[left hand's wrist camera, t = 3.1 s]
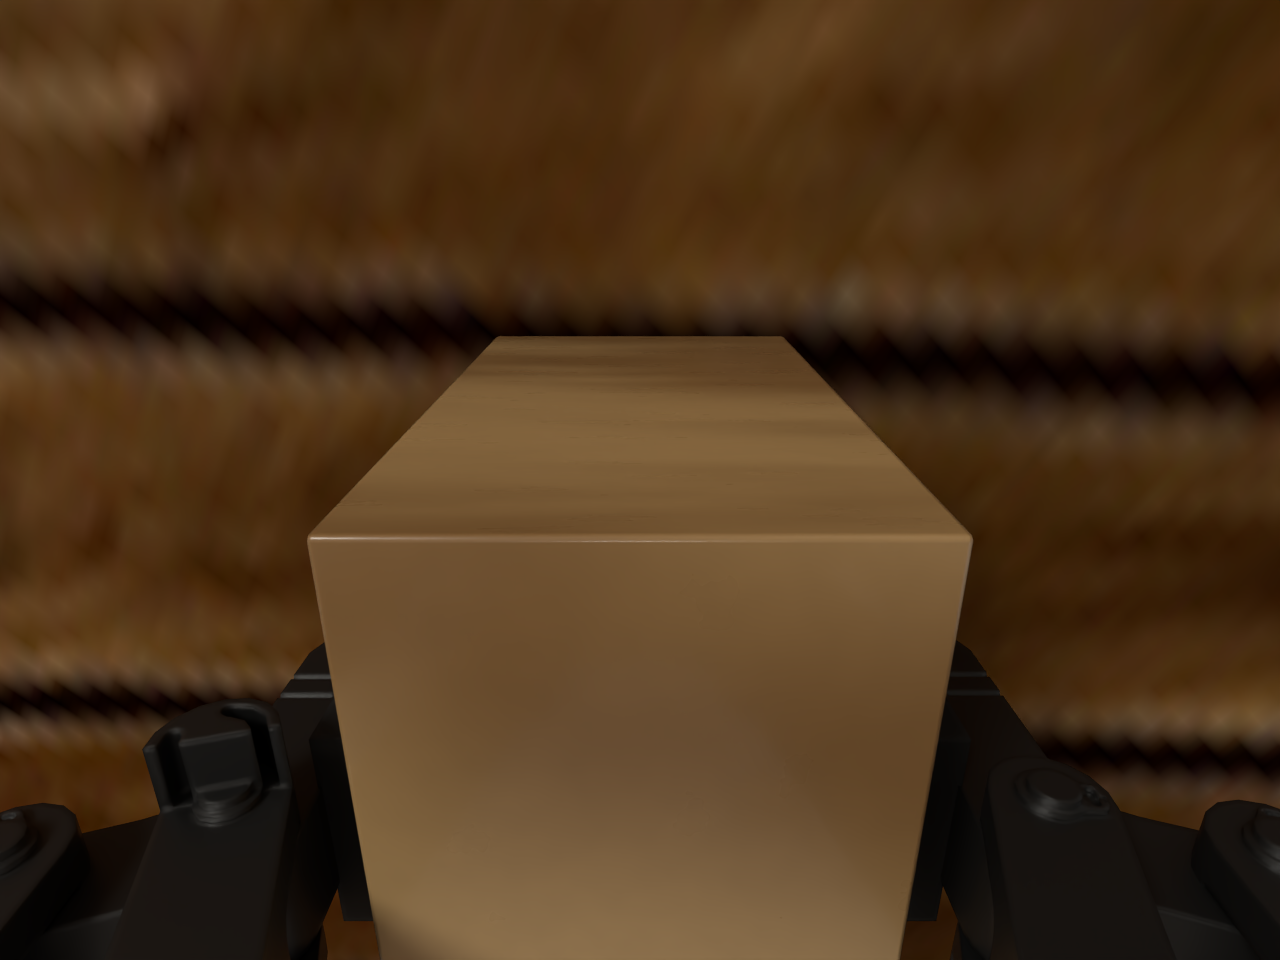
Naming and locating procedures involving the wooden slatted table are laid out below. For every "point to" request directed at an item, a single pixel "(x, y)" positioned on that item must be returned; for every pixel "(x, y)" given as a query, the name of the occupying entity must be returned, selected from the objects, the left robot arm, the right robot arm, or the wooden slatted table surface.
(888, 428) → the wooden slatted table surface
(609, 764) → the bar
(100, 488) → the wooden slatted table surface
